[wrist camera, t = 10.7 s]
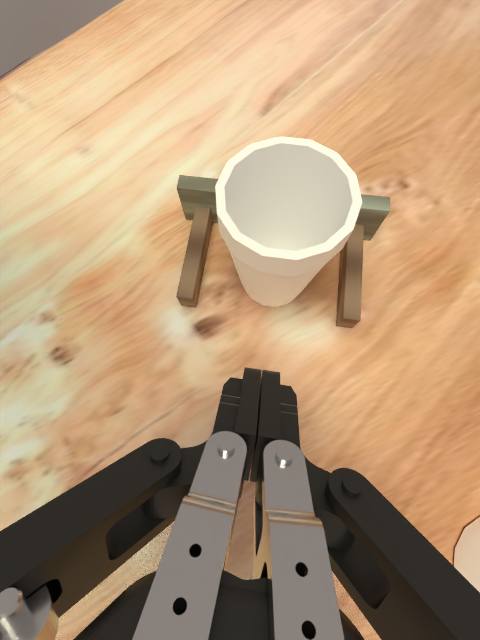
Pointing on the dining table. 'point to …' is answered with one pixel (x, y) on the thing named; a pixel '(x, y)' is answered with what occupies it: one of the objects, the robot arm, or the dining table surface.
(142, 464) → the robot arm
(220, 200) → the foam cup
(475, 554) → the inkwell
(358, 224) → the dock
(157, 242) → the dining table surface
